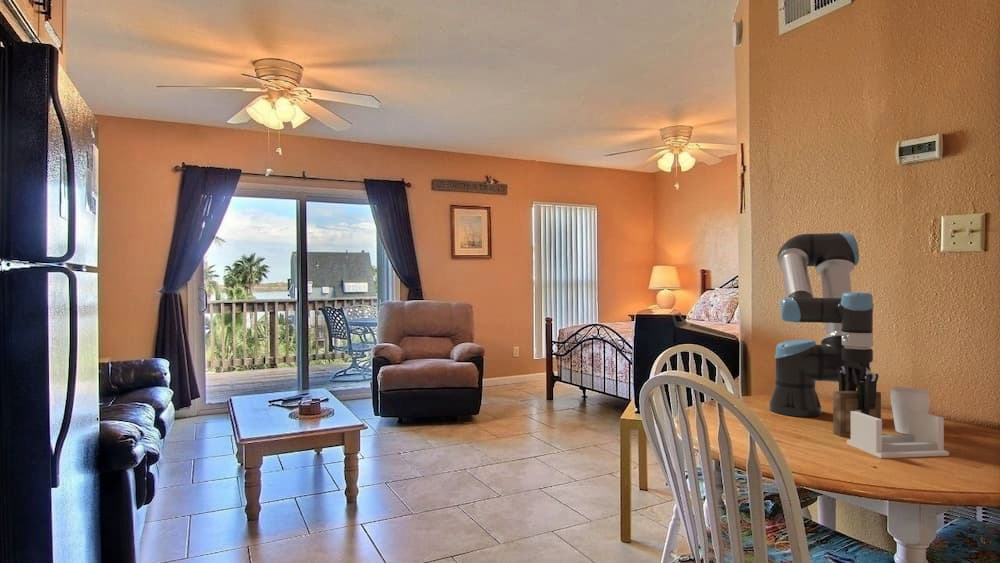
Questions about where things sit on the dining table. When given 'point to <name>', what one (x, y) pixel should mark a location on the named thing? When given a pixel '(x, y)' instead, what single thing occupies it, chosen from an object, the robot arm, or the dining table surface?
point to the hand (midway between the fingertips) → (856, 430)
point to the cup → (907, 405)
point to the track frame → (899, 436)
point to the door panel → (849, 410)
